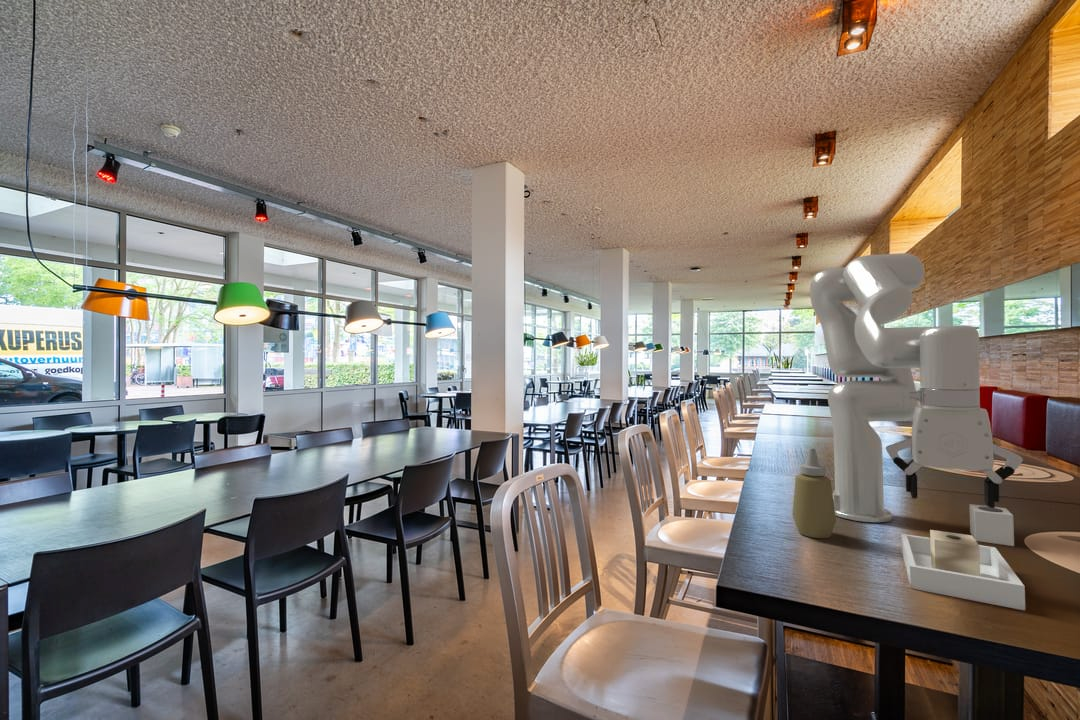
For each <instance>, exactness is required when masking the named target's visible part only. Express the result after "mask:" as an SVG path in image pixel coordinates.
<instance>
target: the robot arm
mask: <svg viewBox="0 0 1080 720" xmlns="http://www.w3.org/2000/svg"><path fill="white" fill-rule="evenodd" d="M924 278H925V267H924V264H923V262H922V260H921V259H920V258H919V257H917V256H916V255H915V254H912V253H905V252H902V253H900V252H899V253H886V254H885V253H883V254H869V255H863V256H859V257H856V258H854V259H852V260H851V261H849V263H848V264H846V266H845V267H844V266H843V267H833V268H832V267H831V268H827V269H823V270H821V271H818V272H817V273H816V274H815V275H813V277H812V278H811V281H810V284H809V285H810V286H809V298H810V302H811V306H812V309H813V311H814V313H815V315H816V318H817V319H818V321H819V323H820V325H821V328H822V333H823V339H824V346H825V351H826V357H827V361H828V365H829V370H830V371H831V373H832V374H834V375H835V376H837V377H841V378H878V379H880V380H847V381H842V382H841V381H840V382H837V383H835V384H834V385H832V387H830V389H829V390H828V394H827V404H828V408H829V412H830V416H831V422H832V431H833V433H832V434H833V463H834V489H833V492H832V494H833V501H834V508H835V515H836V517H839V518H843V519H846V520H851V521H857V522H863V523H887V522H890V521H892V520H893V513H892V512H891V511H890V510H888V509H886V508H885V499H884V497H885V496H884V466H883V465H884V462H883V459H884V458H883V443H882V439H881V437H880V435H879V434H878V433H877V431H876V430H875V429H874V427H872V426H871V424H870V423H871V422H906V421H909V420H911V419H912V423H911V424H912V425H911V437H909V438H907V439H903V440H900V441H898V442H895V443H892V444H889V445H887V446H885V450H886V453H887V454H888V455H889V457H890V459H891V460H892V461H893V464H895V465H896V466H897V468H899V469H900V470H901V471H902V472H904V473H905V491H906V492H907V493H910V496H911V498H912V499H915V500H917V499H918V475H917V474H916V472H917V471H918V470H919V469H921V468H922V467H927V468H936V469H945V470H946V469H948V470H957V471H968V472H982V473H984V475H985V476H986V477H985V479H984V480H983V501H984V503H985V506H988V507H990V508H994V507H996V506H995V503H999V502H1000V484H1002V483H1003V481H1004V480H1006V479H1008V478H1009V477H1011V476H1012V475H1013V474H1015V472H1016V470H1017V469H1018V468H1019V467H1020V465H1021V463H1022V462H1023V461H1024V458H1023V457H1022V456H1020V455H1019V454H1016V453H1015V452H1011V451H1010V450H1007V449H1005V448H1003V447H1000V446H998V445H996V444H994V443H993V435H992V428H991V427H992V426H991V421H990V417H989V413H988V411H987V409H986V408H982V407H981V404H980V403H981V401H980V400H981V399H980V398H981V397H980V394H981V393H980V391H981V390H980V333H979V331H978V329H977V328H976V327H974V326H971V325H941V326H912V327H911V326H910V327H909V326H907V327H883V326H882V325H883V324H885V323H888V322H891V321H893V320H895V319H897V318H899V317H901V316H902V315H903V314H905V313H906V312H907V311H908V310H909V309H910V307H911V305H912V303H913V296H914V295H913V293H912V292H913V291H915V290H917V289H918V288H919V287H920V286H921V284H922V282H924ZM844 302H845V303H846V302H858V304H859V305H860V307H861V309H859V311H858V313H857V314H856V313H855V312H854V310H853V309H852V308H850V307H848V306H847V305H846V304H845V303H844ZM913 368H915V369H919V371H920V372H919V389H917V388H916V385H915V381H914V376H913V373H912V369H913ZM919 403H920V405H919ZM909 448H910V453H911V457H912V458H911V459H910V460H909V461H908V462H906V461H905V460H904V459H902V458H901V456H900V455H899V454H898V453H899V452H900V451H903V450H906V449H909ZM994 454H995V455H997V456H999V457H1001V458H1003V459H1006V461H1005V462H1004V465H1002V466H1001V467H999V468H998V469H996V470H994V469H993V468H994V466H995V465H994V463H995V461H994V459H995V458H994V457H995V456H994Z"/></svg>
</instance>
